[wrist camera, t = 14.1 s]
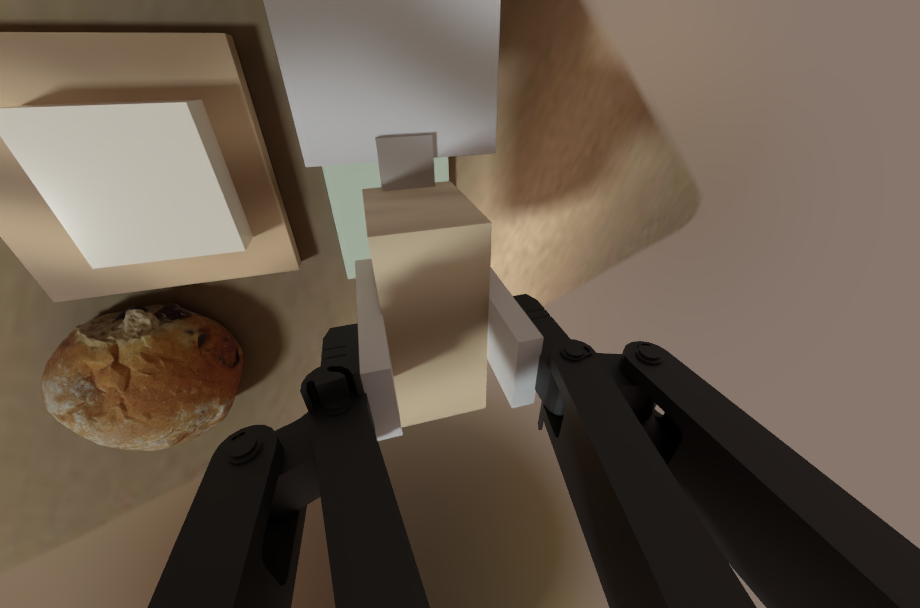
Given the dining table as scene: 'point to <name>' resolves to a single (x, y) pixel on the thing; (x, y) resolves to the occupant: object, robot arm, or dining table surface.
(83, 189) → the tile
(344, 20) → the panel with upright block
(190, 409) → the bread roll
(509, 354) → the robot arm
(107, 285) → the board
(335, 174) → the mat
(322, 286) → the dining table surface
